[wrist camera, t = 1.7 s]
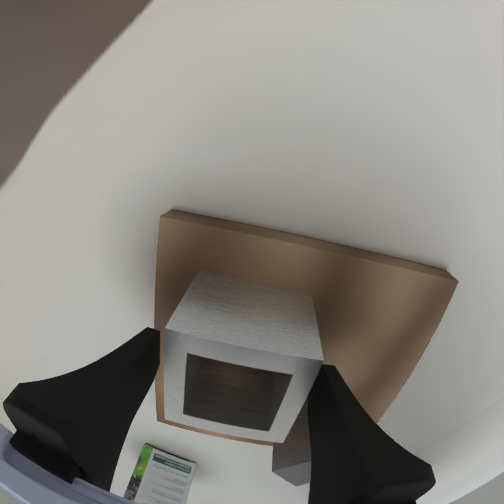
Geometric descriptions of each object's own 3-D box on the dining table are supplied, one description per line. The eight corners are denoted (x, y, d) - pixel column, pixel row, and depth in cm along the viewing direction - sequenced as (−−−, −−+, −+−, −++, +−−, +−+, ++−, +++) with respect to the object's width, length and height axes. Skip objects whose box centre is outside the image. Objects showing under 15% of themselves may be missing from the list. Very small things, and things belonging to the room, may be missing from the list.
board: (446, 270, 14) (458, 281, 13) (351, 437, 20) (354, 450, 19) (171, 209, 15) (160, 216, 13) (162, 407, 20) (157, 420, 19)
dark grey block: (313, 392, 16) (319, 458, 12) (331, 413, 17) (339, 474, 12) (275, 407, 17) (271, 471, 12) (295, 427, 18) (296, 486, 13)
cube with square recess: (311, 293, 14) (323, 360, 9) (283, 373, 16) (282, 443, 11) (199, 269, 14) (164, 328, 9) (190, 354, 16) (164, 419, 11)
